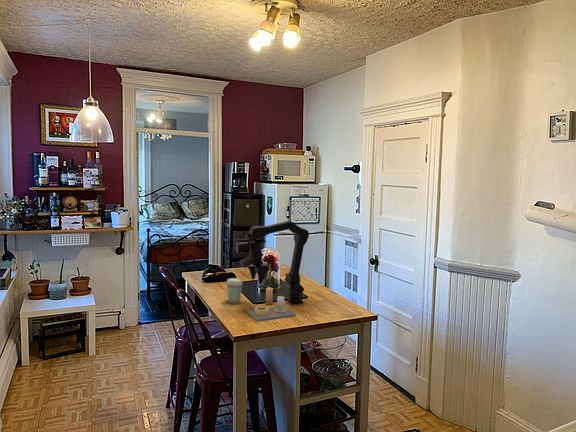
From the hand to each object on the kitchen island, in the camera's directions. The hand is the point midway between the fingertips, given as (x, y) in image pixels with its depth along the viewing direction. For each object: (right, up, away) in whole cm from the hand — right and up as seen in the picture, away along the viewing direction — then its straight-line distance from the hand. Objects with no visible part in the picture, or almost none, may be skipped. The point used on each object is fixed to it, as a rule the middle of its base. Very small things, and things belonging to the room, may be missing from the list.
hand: (256, 281), depth 220 cm
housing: (+8, -14, -10) cm, 19 cm away
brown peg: (+6, -12, +7) cm, 15 cm away
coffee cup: (-12, -12, +7) cm, 19 cm away
